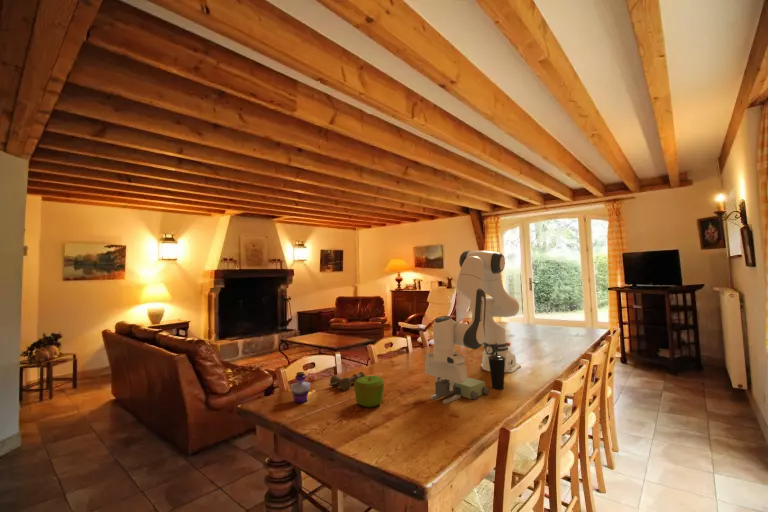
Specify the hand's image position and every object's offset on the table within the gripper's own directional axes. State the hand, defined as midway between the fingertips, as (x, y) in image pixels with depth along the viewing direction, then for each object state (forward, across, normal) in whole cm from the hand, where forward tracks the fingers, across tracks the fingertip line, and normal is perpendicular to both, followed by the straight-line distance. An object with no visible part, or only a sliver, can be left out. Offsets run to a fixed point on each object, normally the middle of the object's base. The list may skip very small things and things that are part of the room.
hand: (445, 389), depth 145 cm
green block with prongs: (+4, 0, +6) cm, 7 cm away
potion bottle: (+4, -40, -46) cm, 61 cm away
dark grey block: (+2, 0, 0) cm, 2 cm away
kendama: (+4, -43, -21) cm, 48 cm away
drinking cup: (+4, +8, +27) cm, 28 cm away
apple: (+4, -17, -27) cm, 32 cm away
